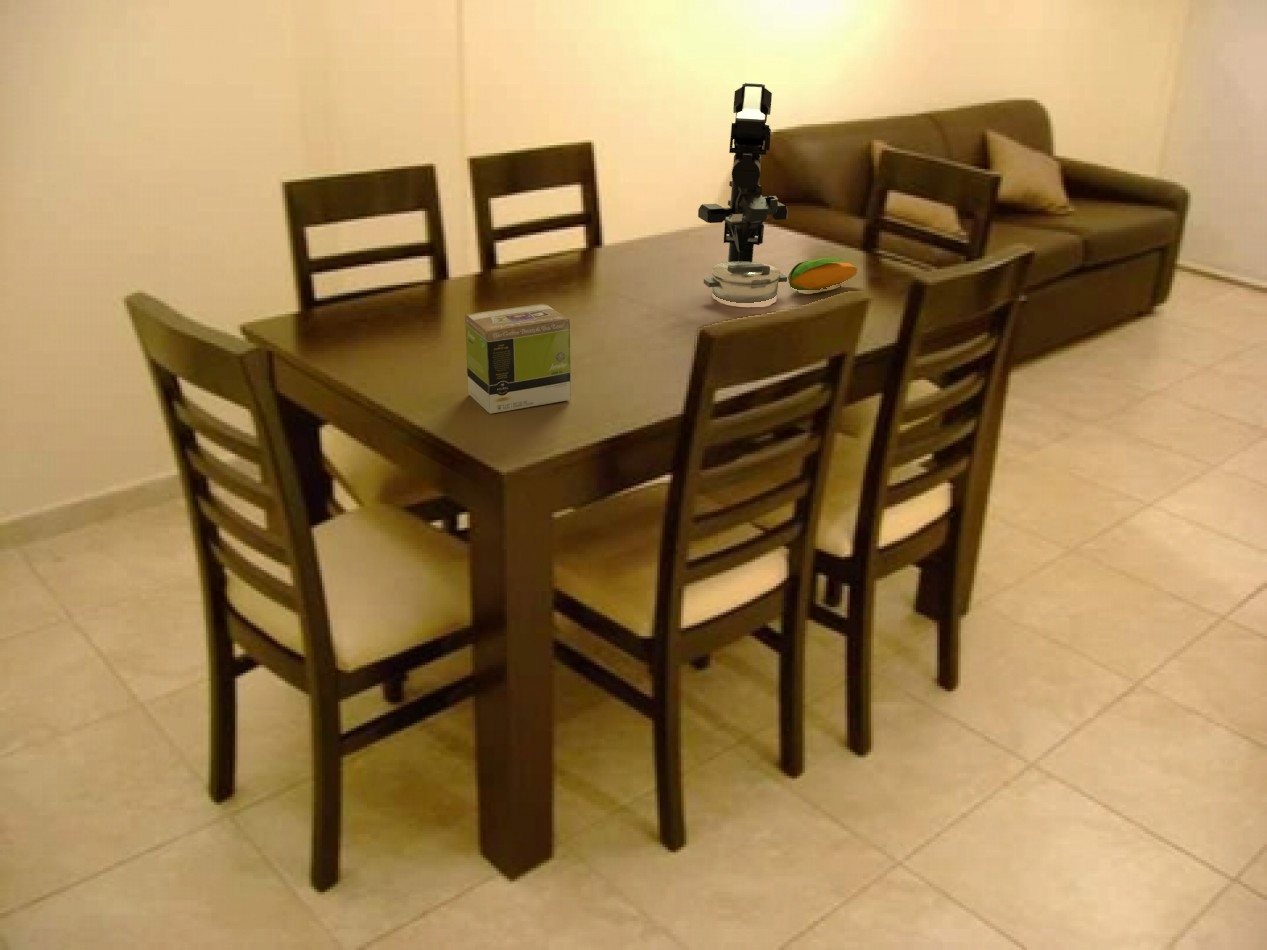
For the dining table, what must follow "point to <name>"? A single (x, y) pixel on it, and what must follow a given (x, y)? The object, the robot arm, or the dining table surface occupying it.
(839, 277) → the corn
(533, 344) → the tea box
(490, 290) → the dining table surface
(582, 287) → the dining table surface
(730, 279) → the lid
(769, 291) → the pot
